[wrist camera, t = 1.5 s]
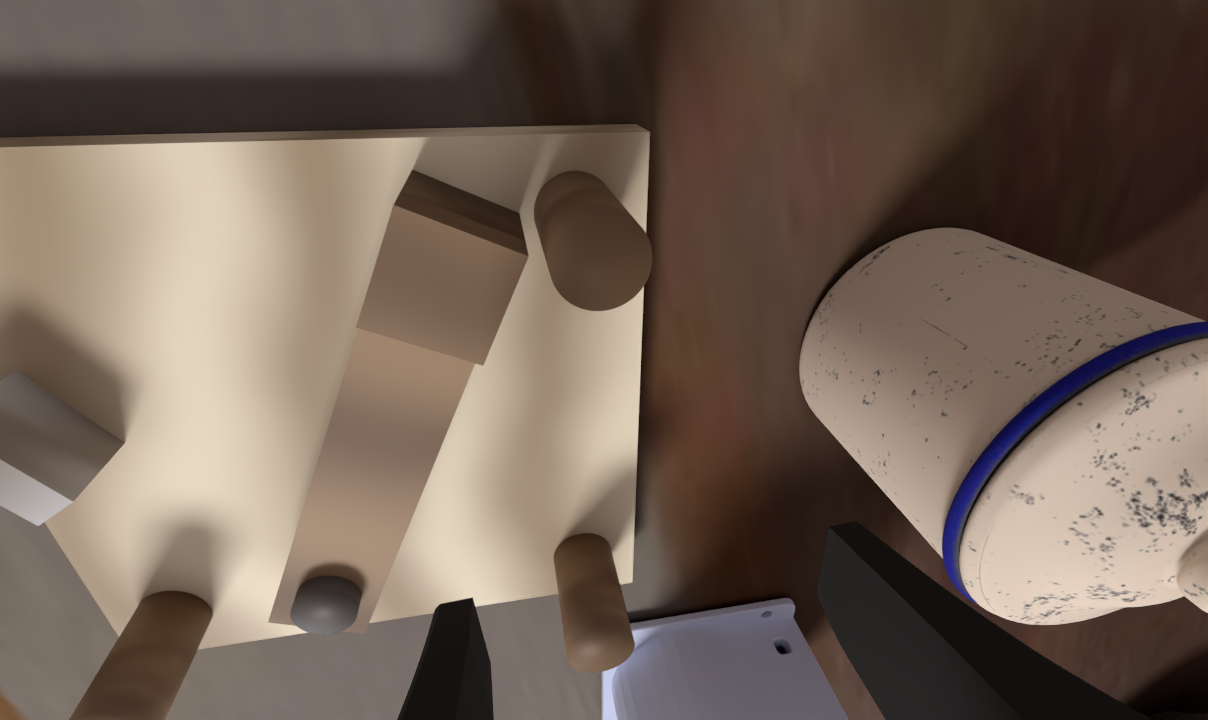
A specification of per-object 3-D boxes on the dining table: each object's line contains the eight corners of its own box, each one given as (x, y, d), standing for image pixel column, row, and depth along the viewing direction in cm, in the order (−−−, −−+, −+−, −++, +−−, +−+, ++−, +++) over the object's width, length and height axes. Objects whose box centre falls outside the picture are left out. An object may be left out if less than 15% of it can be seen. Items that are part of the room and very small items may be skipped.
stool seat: (635, 124, 16) (701, 159, 11) (623, 551, 24) (658, 677, 20) (-125, 140, 13) (-474, 198, 8) (155, 619, 21) (61, 786, 17)
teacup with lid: (784, 455, 23) (1009, 765, 13) (793, 243, 19) (1145, 473, 9) (1047, 395, 25) (1434, 639, 15) (1117, 181, 20) (1751, 323, 10)
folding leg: (376, 573, 20) (358, 666, 17) (290, 559, 19) (255, 656, 16) (519, 212, 15) (528, 256, 12) (412, 169, 14) (393, 204, 11)
